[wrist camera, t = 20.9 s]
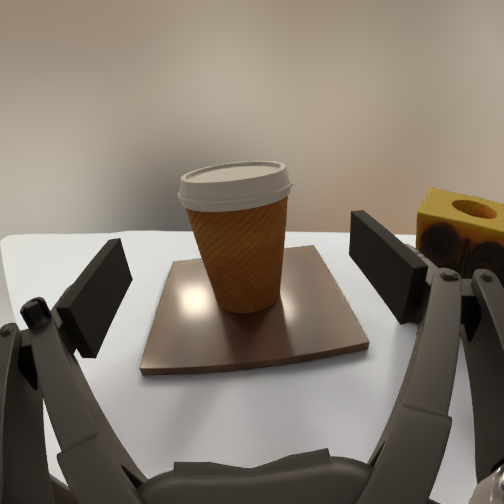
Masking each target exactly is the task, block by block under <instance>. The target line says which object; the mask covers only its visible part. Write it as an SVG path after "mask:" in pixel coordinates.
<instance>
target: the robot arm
mask: <svg viewBox="0 0 504 504" xmlns="http://www.w3.org/2000/svg"><path fill="white" fill-rule="evenodd" d="M349 255H350V257H351V258H352V259H353V261H354V262H355V263H356V264H357V266H358V267H359V268H360V270H361V271H362V272H363V274H364V275H365V276H366V278H367V279H368V280H369V282H370V283H371V284H372V286H373V287H374V288H375V290H376V291H377V292H378V294H379V295H380V296H381V298H382V299H383V301H384V302H385V303H386V305H387V306H388V307H389V309H390V310H391V312H392V313H393V315H394V316H395V317H396V319H397V320H398V322H399V323H400V325H401V324H405V323H409V322H413V321H415V318H416V315H417V311H418V310H419V311H420V313H421V314H422V318H421V322H420V325H419V328H418V331H417V334H416V335H417V337H416V341H415V345H414V348H413V352H412V355H411V358H410V362H409V365H408V368H407V371H406V374H405V377H404V380H403V383H402V386H401V389H400V391H399V394H398V397H397V399H396V402H395V405H394V407H393V410H392V412H391V415H390V417H389V420H388V422H387V424H386V427H385V429H384V431H383V433H382V436H381V438H380V440H379V442H378V444H377V446H376V448H375V450H374V452H373V454H372V456H371V457H370V459H369V461H368V463H367V464H366V463H363V462H361V461H358V460H355V459H350V458H345V457H336V456H330V454H329V450H328V448H326V449H322V450H317V451H312V452H306V453H301V454H295V455H290V456H287V457H284V458H282V459H279V460H276V461H273V462H270V463H267V464H265V465H262V466H258V467H255V468H241V467H235V466H229V465H223V464H217V463H212V462H174V470H173V471H169V472H165V473H162V474H159V475H157V476H155V477H153V478H151V479H149V480H148V479H147V478H146V477H145V476H144V475H143V473H142V472H141V471H140V470H139V469H138V467H137V466H136V464H135V463H134V462H133V460H132V459H131V457H130V456H129V454H128V453H127V451H126V450H125V448H124V447H123V445H122V444H121V442H120V440H119V439H118V437H117V436H116V434H115V432H114V431H113V429H112V427H111V426H110V424H109V422H108V421H107V419H106V417H105V415H104V414H103V412H102V410H101V408H100V406H99V404H98V403H97V401H96V399H95V397H94V395H93V393H92V391H91V389H90V387H89V385H88V383H87V381H86V379H85V377H84V374H83V372H82V370H81V368H80V366H79V363H78V361H77V359H76V358H75V356H74V352H75V350H76V348H77V350H78V351H79V353H80V355H81V357H82V358H96V357H97V354H98V352H99V350H100V347H101V345H102V343H103V341H104V338H105V336H106V334H107V332H108V329H109V327H110V325H111V323H112V321H113V319H114V316H115V314H116V312H117V310H118V308H119V306H120V304H121V302H122V300H123V298H124V296H125V294H126V292H127V290H128V288H129V286H130V284H131V282H132V280H133V279H132V276H131V273H130V270H129V267H128V263H127V260H126V257H125V253H124V250H123V246H122V243H121V239H120V238H118V239H111V240H108V241H107V243H106V244H105V245H104V246H103V247H102V249H101V250H100V251H99V252H98V253H97V255H96V256H95V257H94V258H93V259H92V261H91V262H90V263H89V264H88V266H87V267H86V268H85V269H84V271H83V272H82V273H81V274H80V276H79V277H78V278H77V280H76V281H75V282H74V283H73V284H72V285H71V286H69V287H68V288H67V289H66V290H65V292H64V293H63V294H62V295H63V296H61V297H60V299H59V301H57V303H56V304H55V305H54V307H53V308H52V310H51V311H50V310H49V308H48V306H47V304H46V302H45V300H44V298H42V297H37V298H34V299H31V300H30V301H28V302H26V303H25V304H24V305H23V306H22V308H21V310H20V313H21V315H22V317H23V319H24V321H25V322H26V324H27V326H28V328H29V329H26V330H22V331H20V330H19V328H18V326H17V325H16V323H8V324H6V325H4V326H3V327H1V329H0V504H55V503H54V498H53V493H52V488H51V482H50V476H49V470H48V463H47V455H46V446H45V435H44V420H43V399H44V402H45V405H46V409H47V412H48V415H49V418H50V421H51V424H52V427H53V430H54V432H55V435H56V438H57V440H58V443H59V446H60V448H61V452H60V453H58V454H57V460H58V464H59V466H60V468H61V471H62V473H63V475H64V477H65V479H66V482H67V484H68V486H69V488H70V490H71V492H72V494H73V496H74V498H75V500H76V502H77V504H440V503H438V502H436V501H434V500H431V499H429V496H430V493H431V491H432V488H433V485H434V483H435V480H436V477H437V474H438V471H439V468H440V465H441V462H442V459H443V456H444V452H445V449H446V445H447V442H448V438H449V434H450V430H451V425H452V417H449V416H448V410H449V406H450V401H451V396H452V390H453V385H454V379H455V372H456V365H457V357H458V348H459V337H460V333H461V337H462V342H463V347H464V352H465V357H466V362H467V368H468V374H469V381H470V388H471V396H472V405H473V416H474V431H475V466H476V477H477V484H478V485H477V486H476V488H475V490H474V493H473V496H472V497H471V499H470V500H469V504H504V288H503V287H502V285H501V283H500V281H499V279H498V277H497V276H496V275H495V274H494V273H492V272H491V271H490V270H489V271H488V270H487V269H477V270H475V271H474V274H473V277H472V279H461V276H460V275H459V274H458V273H457V272H455V271H454V270H451V269H448V268H437V267H436V266H435V265H434V264H433V263H432V262H431V261H430V260H429V259H427V258H425V256H424V255H423V254H421V252H419V251H418V250H417V249H416V248H414V247H412V246H410V245H408V244H404V243H402V242H401V241H400V240H399V239H398V238H397V237H395V236H394V235H393V234H392V233H391V232H389V231H388V230H387V229H386V228H384V227H383V226H382V225H381V224H380V223H378V222H377V221H376V220H375V219H374V218H372V217H371V216H370V215H368V214H367V213H366V212H365V211H363V210H362V211H361V210H360V211H351V228H350V246H349Z"/></svg>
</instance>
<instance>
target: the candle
mask: <svg viewBox="0 0 504 504" xmlns="http://www.w3.org/2000/svg"><path fill="white" fill-rule="evenodd" d="M416 249H417V250H418V251H419V252H421V254H423V255H424V256H425V258H427V259H429V260H430V261H431V262H432V263H433V264H434V265H435V266H436V267H437V268H448V269H451V270H454V271H455V272H457V273H458V274H459V275H460V276H461V279H472V277H473V274H474V271H475V270H477V269H487V270H488V271H489V270H490V271H491V272H492V273H494V274H495V275H496V276H497V277H498V279H499V281H500V283H501V285H502V287H503V288H504V204H501V203H497V202H493V201H490V200H486V199H482V198H479V197H475V196H469V195H463V194H458V193H454V192H449V191H444V190H439V189H435V188H428V194H427V196H426V198H425V200H424V202H423V203H422V205H421V206H420V208H419V210H418V214H417V233H416ZM421 318H422V314H421V313H420V311H419V310H418V311H417V315H416V318H415V321H413V322H418V323H420V322H421ZM460 334H461V333H460Z"/></svg>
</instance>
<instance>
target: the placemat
mask: <svg viewBox="0 0 504 504" xmlns="http://www.w3.org/2000/svg"><path fill="white" fill-rule="evenodd" d="M368 347H369V340H368V338H367V336H366V335H365V333H364V331H363V329H362V327H361V325H360V324H359V322H358V320H357V318H356V316H355V315H354V313H353V311H352V309H351V308H350V306H349V304H348V302H347V300H346V299H345V297H344V295H343V293H342V292H341V290H340V288H339V287H338V285H337V283H336V281H335V280H334V278H333V276H332V275H331V273H330V271H329V270H328V268H327V266H326V265H325V263H324V261H323V260H322V258H321V256H320V255H319V253H318V251H317V250H316V248H315V246H314V245H310V246H302V247H293V248H285V249H284V256H283V265H282V277H281V288H280V296H279V298H278V300H277V301H276V302H275V303H274V304H272V305H271V306H270V307H268V308H266V309H264V310H261V311H257V312H252V313H235V312H230V311H227V310H225V309H223V308H222V307H220V306H219V304H218V303H217V301H216V298H215V295H214V292H213V289H212V286H211V284H210V281H209V278H208V275H207V272H206V269H205V267H204V263H203V260H202V258H200V259H191V260H183V261H174V262H173V264H172V267H171V269H170V272H169V275H168V278H167V281H166V284H165V287H164V290H163V293H162V296H161V299H160V302H159V305H158V308H157V311H156V314H155V317H154V320H153V324H152V327H151V330H150V333H149V337H148V340H147V343H146V347H145V350H144V354H143V357H142V361H141V364H140V368H139V369H140V371H141V373H142V375H167V374H193V373H210V372H223V371H234V370H244V369H254V368H262V367H270V366H278V365H285V364H291V363H298V362H304V361H310V360H316V359H321V358H327V357H332V356H337V355H342V354H347V353H351V352H356V351H360V350H365V349H368Z"/></svg>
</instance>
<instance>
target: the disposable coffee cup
mask: <svg viewBox="0 0 504 504" xmlns="http://www.w3.org/2000/svg"><path fill="white" fill-rule="evenodd" d="M292 185H293V180H292V179H291V178H290V177H289V175H288V172H287V169H286V165H284V164H282V163H279V162H272V161H243V162H233V163H226V164H219V165H214V166H209V167H205V168H201V169H198V170H194V171H192V172H189V173H187V174H185V175H183V176H182V177H181V183H180V191H179V192H178V194H177V196H178V198H179V200H180V201H182V204H183V206H184V207H185V208H186V210H187V213H188V217H189V220H190V223H191V226H192V230H193V233H194V236H195V239H196V242H197V245H198V249H199V251H200V254H201V257H202V260H203V263H204V267H205V269H206V272H207V275H208V278H209V281H210V284H211V286H212V289H213V292H214V295H215V298H216V301H217V303H218V304H219V306H220V307H222V308H223V309H225V310H227V311H230V312H235V313H252V312H257V311H261V310H264V309H266V308H268V307H270V306H271V305H272V304H274V303H275V302H276V301H277V300H278V298H279V296H280V288H281V277H282V265H283V256H284V241H285V227H286V215H287V198H288V194H289V193H290V188H291V187H292Z"/></svg>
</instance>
